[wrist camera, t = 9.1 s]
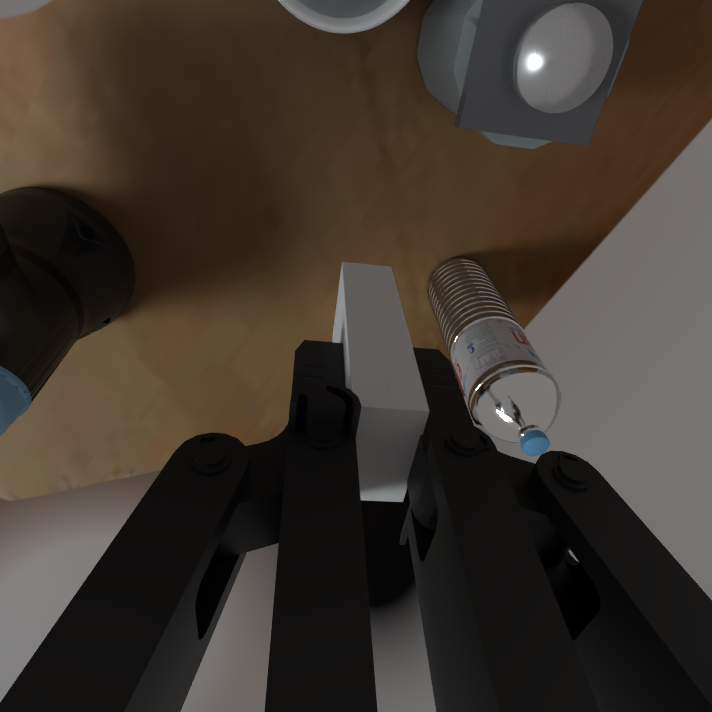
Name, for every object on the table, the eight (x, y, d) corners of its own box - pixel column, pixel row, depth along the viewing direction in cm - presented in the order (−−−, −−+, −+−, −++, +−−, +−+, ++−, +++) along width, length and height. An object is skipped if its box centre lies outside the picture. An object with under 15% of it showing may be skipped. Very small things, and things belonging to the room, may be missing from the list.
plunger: (438, 83, 40) (494, 115, 27) (456, -7, 36) (530, -20, 23) (507, 93, 41) (594, 129, 28) (531, 6, 37) (643, 0, 24)
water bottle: (423, 260, 52) (487, 418, 31) (486, 249, 51) (593, 402, 31) (427, 314, 56) (487, 486, 35) (486, 304, 55) (580, 472, 35)
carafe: (406, 102, 43) (442, 140, 30) (438, -82, 36) (504, -139, 23) (512, 117, 44) (593, 160, 31) (563, -57, 37) (696, -98, 24)
